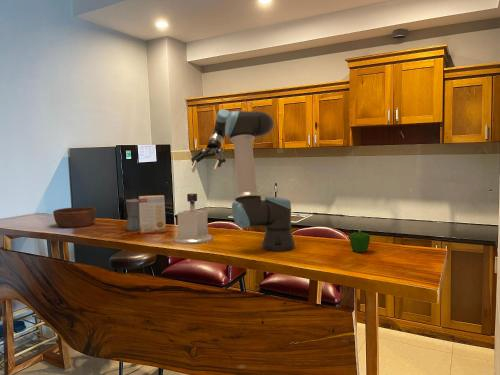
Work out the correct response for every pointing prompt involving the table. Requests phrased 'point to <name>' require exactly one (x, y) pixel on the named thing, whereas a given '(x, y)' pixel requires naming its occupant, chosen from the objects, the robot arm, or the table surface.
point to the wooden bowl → (75, 217)
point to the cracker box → (152, 214)
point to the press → (192, 228)
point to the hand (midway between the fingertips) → (203, 170)
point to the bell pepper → (359, 241)
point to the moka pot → (132, 214)
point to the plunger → (192, 201)
